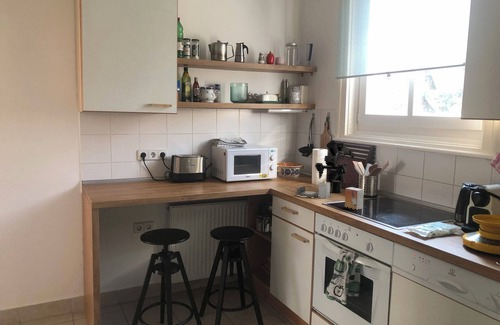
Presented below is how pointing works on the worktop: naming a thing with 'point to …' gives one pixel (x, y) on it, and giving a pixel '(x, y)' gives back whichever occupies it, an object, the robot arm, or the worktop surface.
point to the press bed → (306, 192)
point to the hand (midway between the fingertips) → (326, 179)
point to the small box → (354, 198)
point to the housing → (324, 189)
